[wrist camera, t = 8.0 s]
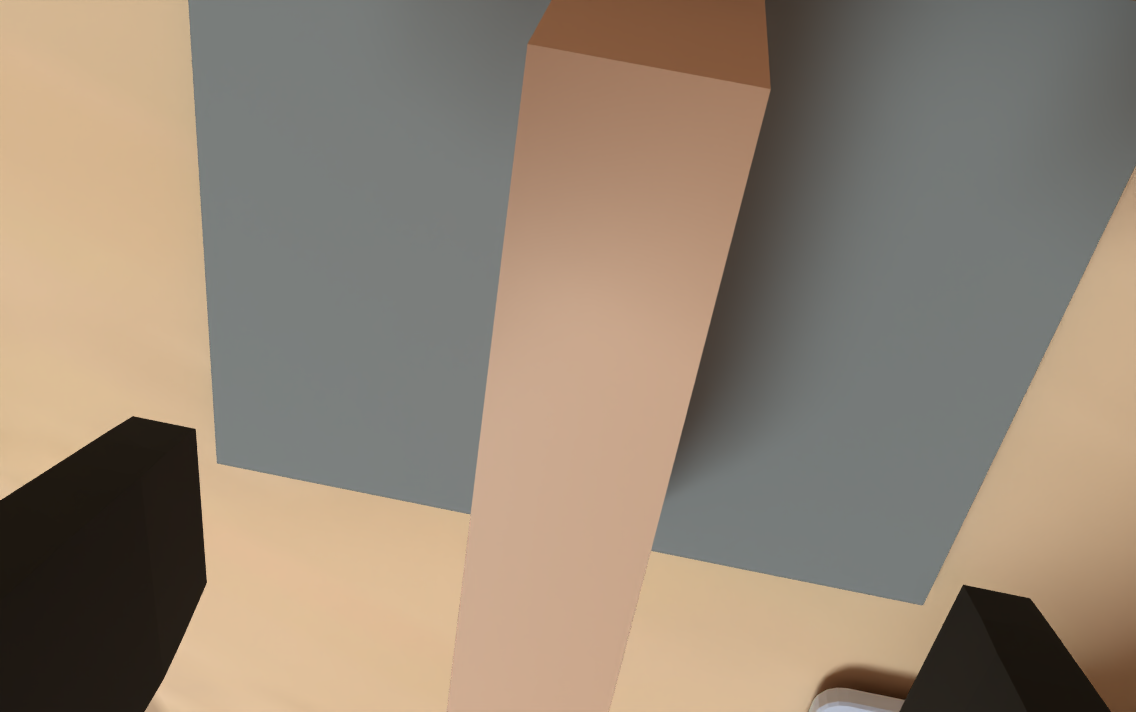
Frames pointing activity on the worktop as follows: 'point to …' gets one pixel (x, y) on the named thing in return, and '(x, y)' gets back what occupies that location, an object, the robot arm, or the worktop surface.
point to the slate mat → (750, 278)
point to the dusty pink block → (599, 331)
